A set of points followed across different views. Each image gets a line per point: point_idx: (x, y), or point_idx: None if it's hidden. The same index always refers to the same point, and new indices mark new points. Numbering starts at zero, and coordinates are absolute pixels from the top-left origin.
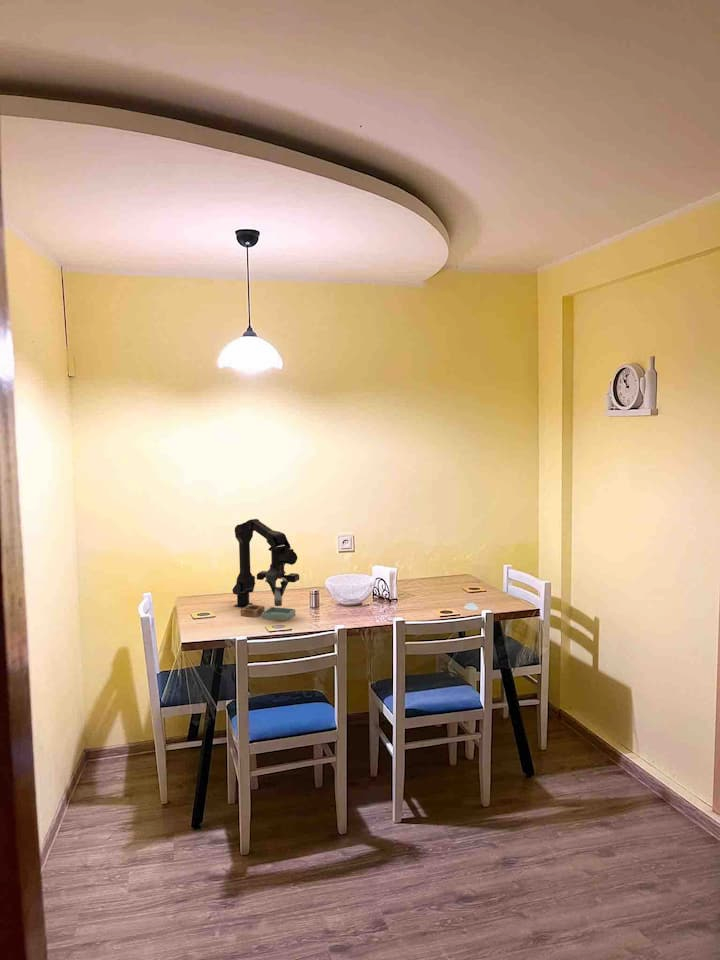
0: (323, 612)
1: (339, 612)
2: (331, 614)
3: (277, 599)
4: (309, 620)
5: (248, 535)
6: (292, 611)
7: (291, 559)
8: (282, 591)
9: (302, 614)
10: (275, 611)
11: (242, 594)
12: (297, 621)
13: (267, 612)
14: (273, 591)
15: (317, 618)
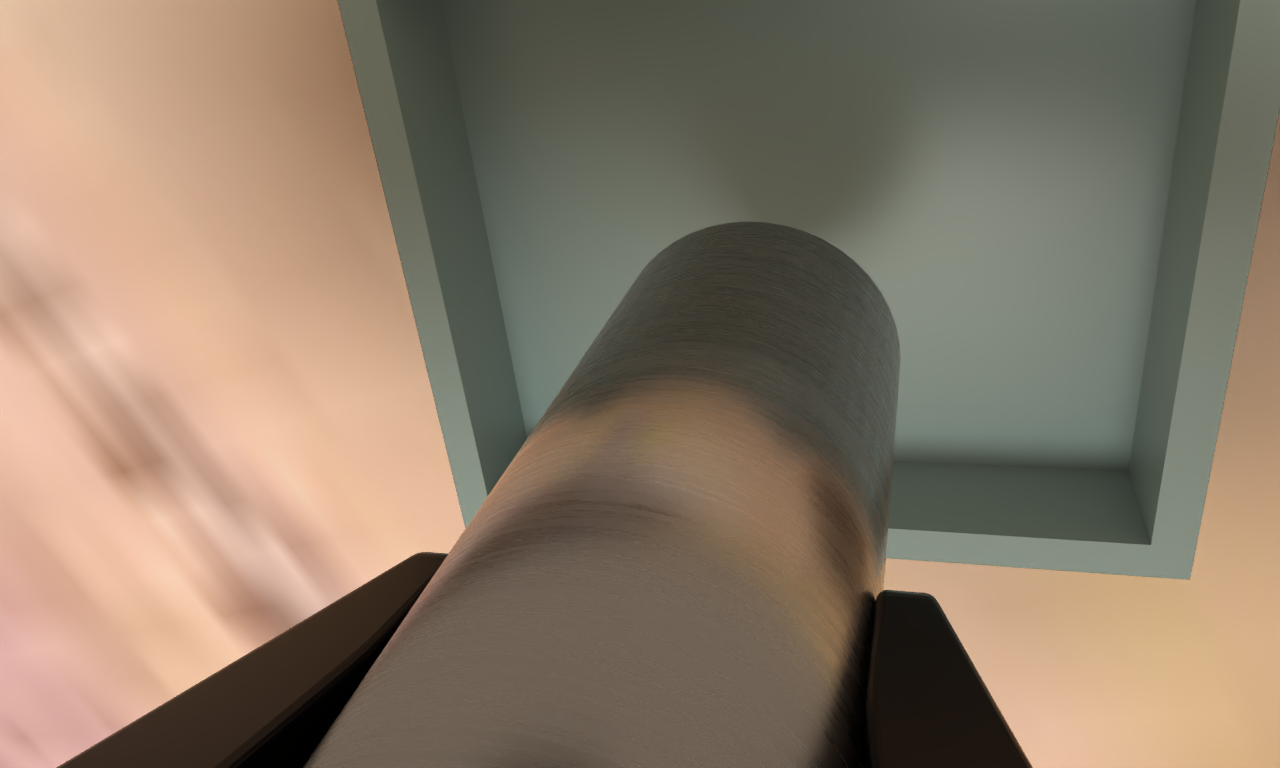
0: (204, 661)
1: (34, 689)
2: (45, 593)
3: (638, 342)
4: (65, 196)
5: None
6: (435, 369)
7: None
8: (197, 693)
9: (422, 509)
10: (1016, 472)
11: None
12: (202, 35)
13: (1182, 219)
14: (899, 740)
15: (49, 356)
